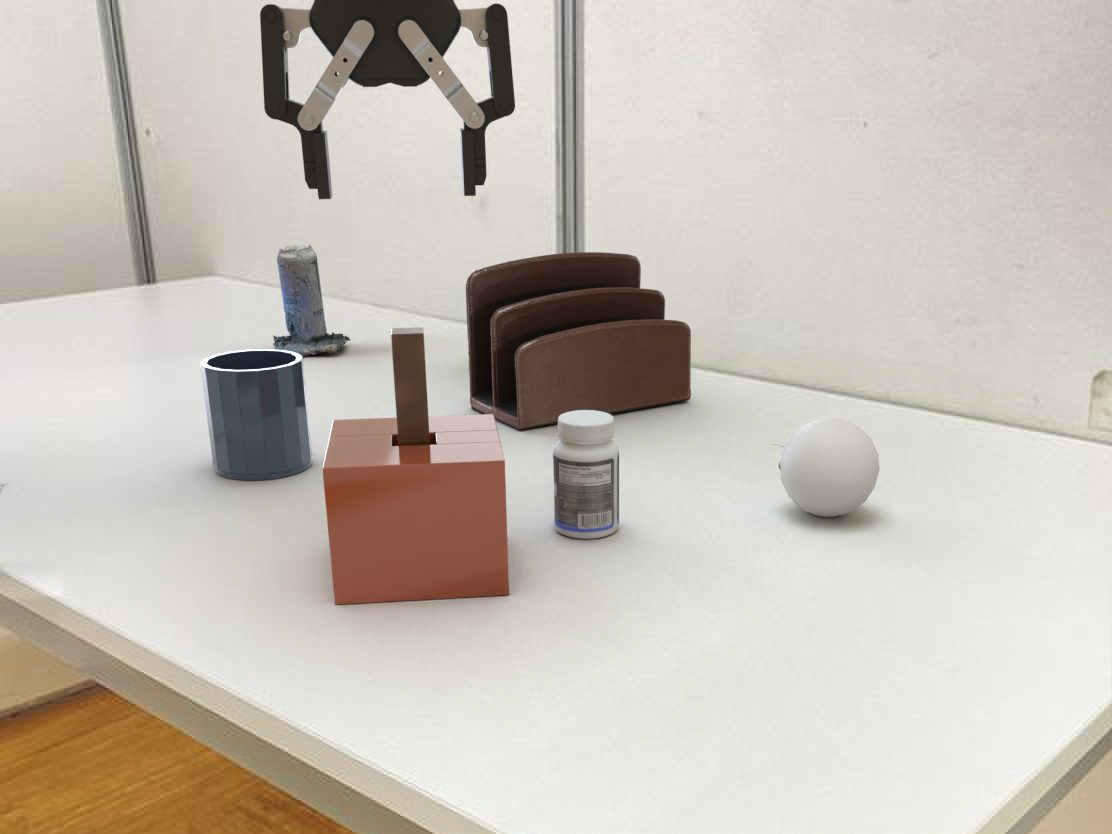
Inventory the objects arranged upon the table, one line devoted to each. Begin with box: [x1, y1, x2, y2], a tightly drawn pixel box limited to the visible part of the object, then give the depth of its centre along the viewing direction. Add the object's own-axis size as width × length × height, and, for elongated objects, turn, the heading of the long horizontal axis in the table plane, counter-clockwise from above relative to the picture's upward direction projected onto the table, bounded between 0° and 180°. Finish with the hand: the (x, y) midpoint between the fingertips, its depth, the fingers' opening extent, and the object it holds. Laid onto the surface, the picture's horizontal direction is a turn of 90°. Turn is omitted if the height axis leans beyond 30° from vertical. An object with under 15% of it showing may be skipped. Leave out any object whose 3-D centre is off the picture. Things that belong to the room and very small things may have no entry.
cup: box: [199, 348, 313, 481], centre depth 104 cm, size 8×8×9 cm
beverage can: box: [272, 244, 351, 358], centre depth 144 cm, size 9×8×12 cm
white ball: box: [771, 417, 881, 518], centre depth 94 cm, size 10×7×7 cm
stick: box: [390, 326, 430, 446], centre depth 82 cm, size 2×2×16 cm
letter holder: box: [465, 251, 692, 431], centre depth 121 cm, size 10×20×14 cm, turn 123°
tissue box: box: [321, 413, 510, 605], centre depth 83 cm, size 11×11×9 cm
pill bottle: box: [552, 410, 620, 540], centre depth 90 cm, size 5×5×8 cm
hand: (397, 196), depth 75 cm, fingers open, 8 cm apart
